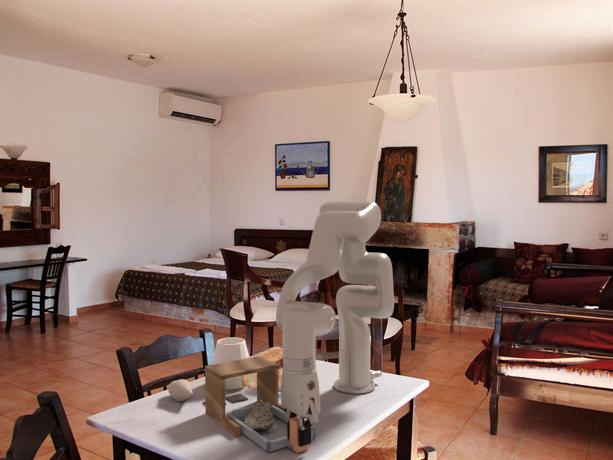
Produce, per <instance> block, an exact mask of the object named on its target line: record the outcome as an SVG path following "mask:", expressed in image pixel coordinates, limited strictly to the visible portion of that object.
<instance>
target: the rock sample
mask: <svg viewBox="0 0 613 460" xmlns="http://www.w3.org/2000/svg"><path fill="white" fill-rule="evenodd" d="M241 422H243V423H244V424H245V425H247V426H248V427H250V428H251V429H253V430H254V431H255V432H257V431H270V430H272V429H273V427H274V424H275V418H274V415H273V414H272V413H271V412H270V411H269V409H268V408H267V406H265V404H264V402H263V401H262V400H259V401H256V404H255V407H254V408H253V410H252V411H251V412H250V413H249V414H248V415H247V416H246V417H245V418H244V420H243V421H241Z"/></svg>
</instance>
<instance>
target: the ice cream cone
mask: <svg viewBox="0 0 613 460" xmlns="http://www.w3.org/2000/svg"><path fill="white" fill-rule="evenodd" d="M167 390H168V394H169V395H170V396H171V398H172V399H174V400H175V401H176V402H184V401H186V400H188V399H189V398H190V397H191V396H192V395H193V389H192V385H191V383H190V382H189V381H188V380H187V379H178V380H174V381H171V382H170V383H169V385H168V388H167Z"/></svg>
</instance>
